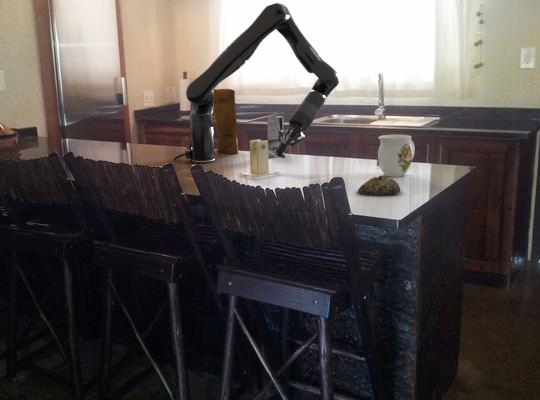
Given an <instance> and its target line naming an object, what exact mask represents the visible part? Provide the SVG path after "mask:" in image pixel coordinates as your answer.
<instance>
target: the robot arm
mask: <svg viewBox="0 0 540 400" xmlns="http://www.w3.org/2000/svg"><path fill="white" fill-rule="evenodd" d="M275 30H276V31H277V32H278V33H279V34H280V36H282V37H283V38H284V39H285V41H286V42H287V44H288V45H289V47H290V48H291V50H292V52H293V54H294V55H295V57H296V59H297V60H298V62H299V63H300V64H301V66H302V67H303V68H304V69H305V71H306V72H307V73H309V74H314V76H316V77H317V80H316V81H315V82H314V84H313V85H312V88H311V89H310V91H309V92H308V93H307V94H306V96H305V97H304V99H303V101H301V103H299V105H298V106H297V107H296V109H295V111H294V112H293V114H291V116H290V118H289V119H288V125H287V126H286V127H284V128H285V129H283V131H282V130H279V135H278V141H279V142H280V145H279V147H278V148H277V150H276V152H277V153H278V154H283V153H284V154H285V151H286V150H287V149H288V148H289V147H295V145H297V144H299V143H300V142H301V141H304V139H305V135H304V133H305V132H307V131H308V130H309V128H310V126H311V125H312V123H313V122H314V120H315V119H316V118H317V115H318V113H319V112H320V110H321V109H322V108H323V106H324V104H325V103H326V99H327V98H328V97H329V95H330V94H331V93H332V92H333V90H334V89H335V88H337V86H338V85H339V83H340V76H339V74H338V72H337V71H336V69H334V68H333V67H332V66H331V65H330V64H328V62H326V61H325V60H324V59H323V58H322V57H321V55H320V53H318V52H317V51H316V49H315V48H314V46H313V45H312V44H311V43H310V42H309V40H308V39H307V38H306V37H305V36H304V34H303V32H301V30H300V28H299V27H298V25H297V23H296V21H295V20H294V18H293V16H292V14H291V12H290V10H289V9H288V7H287V6H286V5H285V4H282V3H279V2H271V3H269V4H267V5H266V6H265V7H264V8H263V10H261V12H260V14H259V15H258V16H257V17H256V18H255V20H254V21H253V22H252V23H251V24H250V25H249V26H248V27H247V28H246V29H245V30H244V31H243V32H242V33H240V35H238V36H237V37H236V38H235V39H233V41H232V42H231V43H230V44H229V45H227V47H226V48H225V49H224V50H223V51H222V52H221V53H220V54H219V55H218V56H217V57H216V58H215V60H214V61H213V62H212V63H211V64H210V65H209V67H208V68H206V69H205V71H204V72H202V73H201V74H200V75H199V76H197V77H196V78H195V79H194V80H192V81H191V82H190V83H188V85H187V87H186V90H185V96H186V99H187V100H188V101H189V102H190V103H192V105H191V111H190V113H189V123H190V126H189V127H190V138H189V140H188V141H189V149H187V150H185V151H184V153H180V154H178V155H176V156H175V157H173V160H174V161H176V160H178V159H180V158H181V157H185V159H189V161H190V162H192V163H195V164H205V163H206V164H207V163H212V162H215V161H216V158H215V156H216V152H215V139H214V119H213V118H214V114H213V111H214V94H213V89H216V87H217V86H218V85H219V84H220V83H222V82H223V81H224V80H226V79H227V78H229V77H230V76H231V75H234V74H235V73H236V72H237V71H238V70H239V69H240V68H242V67H243V66H244V65H245V64H246V63H247V62H248V61H249V60H250V59H251V58H252V56H253V55H254V53H255V52H256V50H257V49H258V47H259V46H260V44H261V43H262V42H263V41H264V40H265V39H266V38H267V37H268V36H269V35H270V34H272V33H273V32H274V31H275ZM284 154H283V155H284Z"/></svg>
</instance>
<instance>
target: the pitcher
mask: <svg viewBox="0 0 540 400" xmlns="http://www.w3.org/2000/svg"><path fill="white" fill-rule="evenodd" d="M377 139H378V140H379V141H380V145H379V147H378V151H377V157H378V158H377V160H378V164H379V167H380V170H381V172H382V173H383V176H386V177H390V178H392V177H395V178H396V177H404V176H405V175H406V174H407V173H408V171H409V169H410V167H411V164H412V161H413V159H414V157H415V148H416V146H415V143H414V141H413V140H412V136H411V135H408V134H384V135H383V134H382V135H379V136H378V137H377Z"/></svg>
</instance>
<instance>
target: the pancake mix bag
mask: <svg viewBox="0 0 540 400" xmlns="http://www.w3.org/2000/svg"><path fill="white" fill-rule="evenodd" d="M213 94H214V111H213V118H214V119H213V120H214V122H215V127H216V133H217V142H218V146H217V152H220V153H225V154H228V155H236V154H239V146H238V133H237V130H238V129H237V128H238V127H237V125H238V124H237V123H238V122H237V110H236V109H237V108H236V91H235V90H234V89H232V88H214V89H213Z"/></svg>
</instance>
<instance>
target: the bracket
mask: <svg viewBox="0 0 540 400" xmlns="http://www.w3.org/2000/svg"><path fill="white" fill-rule="evenodd" d="M255 141H259V142H256V147H257V149H256V148H254V147H253V146H254V143H255ZM249 164H250V165H249V166H250V167H249V169H250V171H243V172H240V173H239V174H240V175H243V176H247V177H251V178H259V177H264V176H269V175H276V174H279V173H280V172H279V171H276V170H272V169H269V166H270V165H269V157H268V139H267V140H262V139H253V140H249Z"/></svg>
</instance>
